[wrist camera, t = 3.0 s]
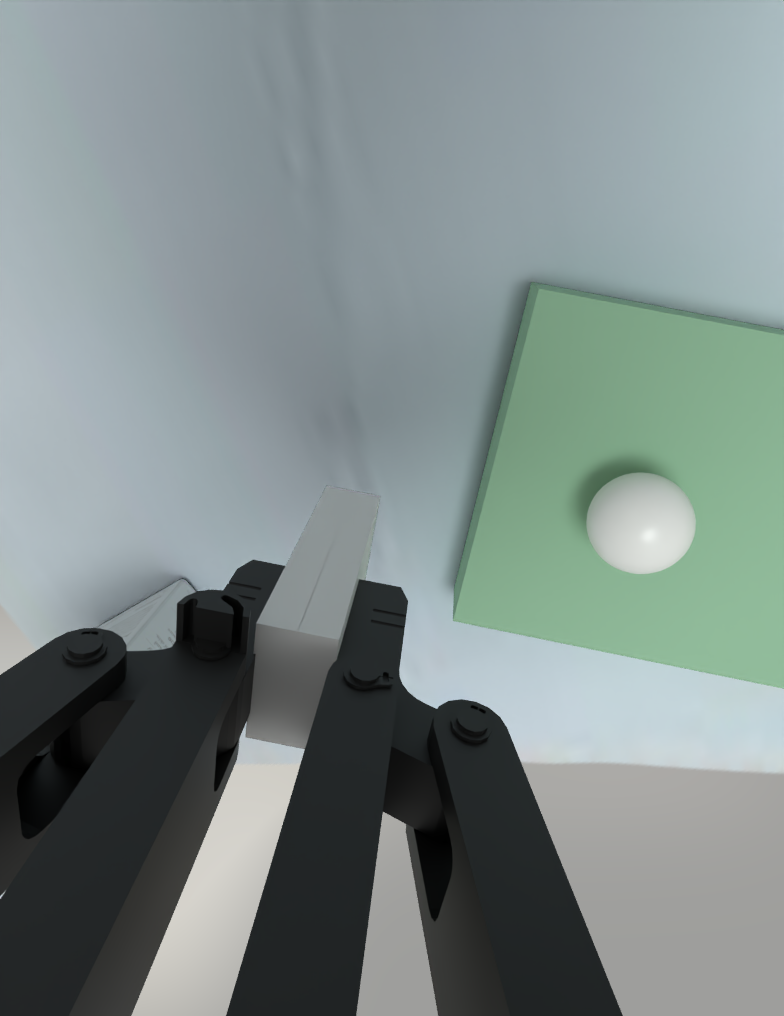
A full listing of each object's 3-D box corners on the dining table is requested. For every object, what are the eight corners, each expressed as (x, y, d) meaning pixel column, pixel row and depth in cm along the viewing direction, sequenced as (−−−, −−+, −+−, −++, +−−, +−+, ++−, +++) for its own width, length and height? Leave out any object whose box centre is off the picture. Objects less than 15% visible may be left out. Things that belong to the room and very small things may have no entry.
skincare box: (153, 684, 32) (-10, 927, 21) (93, 621, 31) (-115, 844, 20) (244, 637, 30) (117, 876, 19) (184, 567, 29) (10, 780, 18)
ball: (595, 449, 22) (616, 486, 19) (691, 468, 22) (729, 509, 18) (567, 534, 23) (582, 582, 20) (657, 552, 23) (687, 603, 20)
